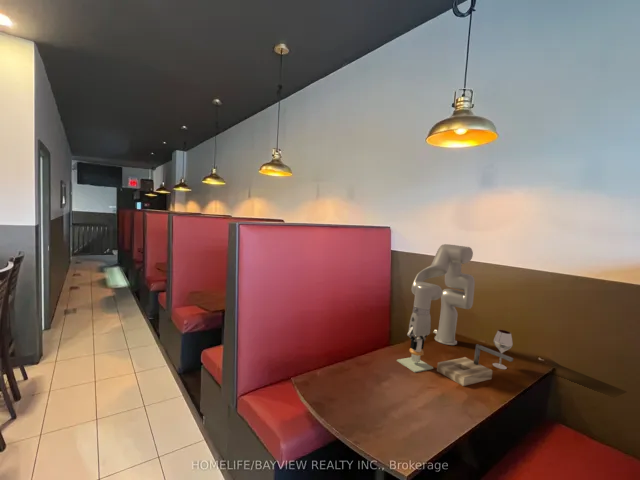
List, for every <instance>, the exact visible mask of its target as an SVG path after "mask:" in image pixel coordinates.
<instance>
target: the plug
mask: <svg viewBox="0 0 640 480" xmlns="http://www.w3.org/2000/svg"><path fill="white" fill-rule="evenodd" d="M414 338H415V336H414ZM416 342H417V348H416V350H414V349H412V348H411V347H410V348H409V350H408V351H409V353H410V354H411V356H410V357H411V360H412V361H413V362H420V360H421V356H424V353H425V352H424V349H421V347H422V339H421V338H419V336H417V340H416Z"/></svg>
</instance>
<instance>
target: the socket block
mask: <svg viewBox="0 0 640 480" xmlns="http://www.w3.org/2000/svg"><path fill="white" fill-rule="evenodd" d="M493 371H494V369H493V370H492V369H491V368H489V367H487V366H484V365H482V364H481V363H478V365H476V364H474V360H473V359H470V358H468V357H466V356H464V357H460V358H455V359H448V360H444V361H439V362H437V367H436V372H438V373H439V374H441V375H443V376H445V377H447V378H448V379H450V380H451V381H454V382H455V383H457V384H458V385H461V386H463V387H465V386H469V385H474V384H477V383H480V382H484V381H489V380H492V378H493Z"/></svg>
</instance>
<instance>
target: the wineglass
mask: <svg viewBox="0 0 640 480" xmlns="http://www.w3.org/2000/svg"><path fill="white" fill-rule="evenodd" d="M493 344H494V346H495V347H496V348H497V349H498V350H499V353H501V354H504V353H505V352H506V351H509V350H511V348H512V347H513V337H512V332H510V331H508V330H505V329H504V330H503V329H497V331H496V333H495V336H494V338H493ZM502 360H503V358H500V357H499V362H494V363H493V362H492V366H493V367H495V368H496V369H500V370H507V368H508V367H507V366H505V365H504V364H502Z"/></svg>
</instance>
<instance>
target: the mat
mask: <svg viewBox="0 0 640 480" xmlns="http://www.w3.org/2000/svg"><path fill="white" fill-rule="evenodd" d="M396 362H398V363H399V364H401V365H402V366H404V367H406V369H407V368H408V369H409V370H410V371H412V372H413V373H420V372H424V371H429V370H433V369H434V367H433V366H432V365H430V364H429V363H427V362H425V361H423V360H421V359H420V362H413V361H412V360H411V356H410V357H406V358H405V357H404V358H399V359H396Z"/></svg>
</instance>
